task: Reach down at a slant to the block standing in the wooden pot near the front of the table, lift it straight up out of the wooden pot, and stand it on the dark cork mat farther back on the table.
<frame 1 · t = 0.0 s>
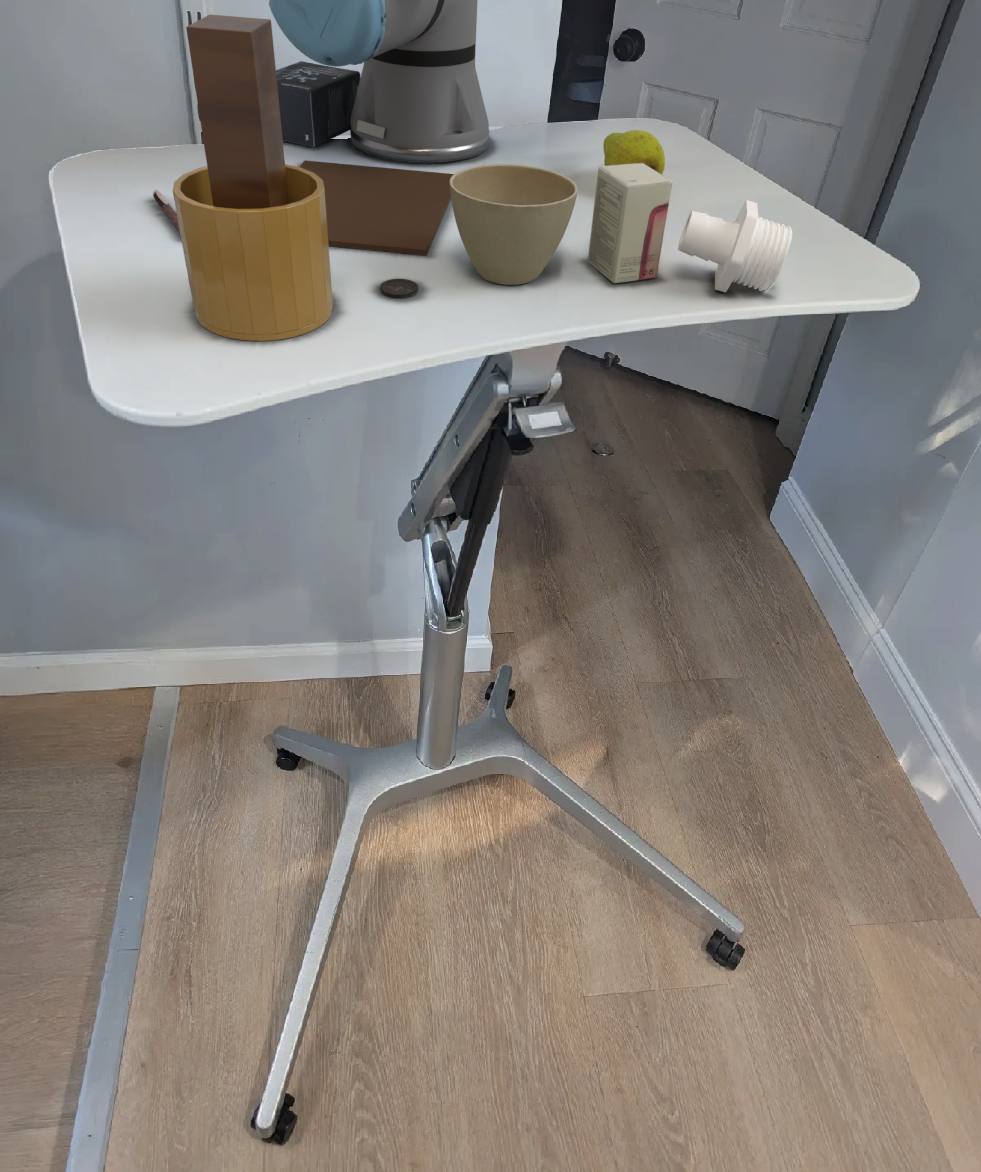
box: (332, 92, 103), point 3 cm above the table
bowl: (507, 275, 75), on the table
pipe fitting: (682, 229, 73), point 4 cm above the table
block: (264, 303, 67), resting on wooden pot
wooden pot: (265, 310, 67), on the table
pen: (172, 220, 79), on the table
mat: (360, 206, 84), on the table
coin: (399, 291, 71), on the table
small box: (620, 272, 76), on the table
fruit: (651, 172, 87), point 3 cm above the table
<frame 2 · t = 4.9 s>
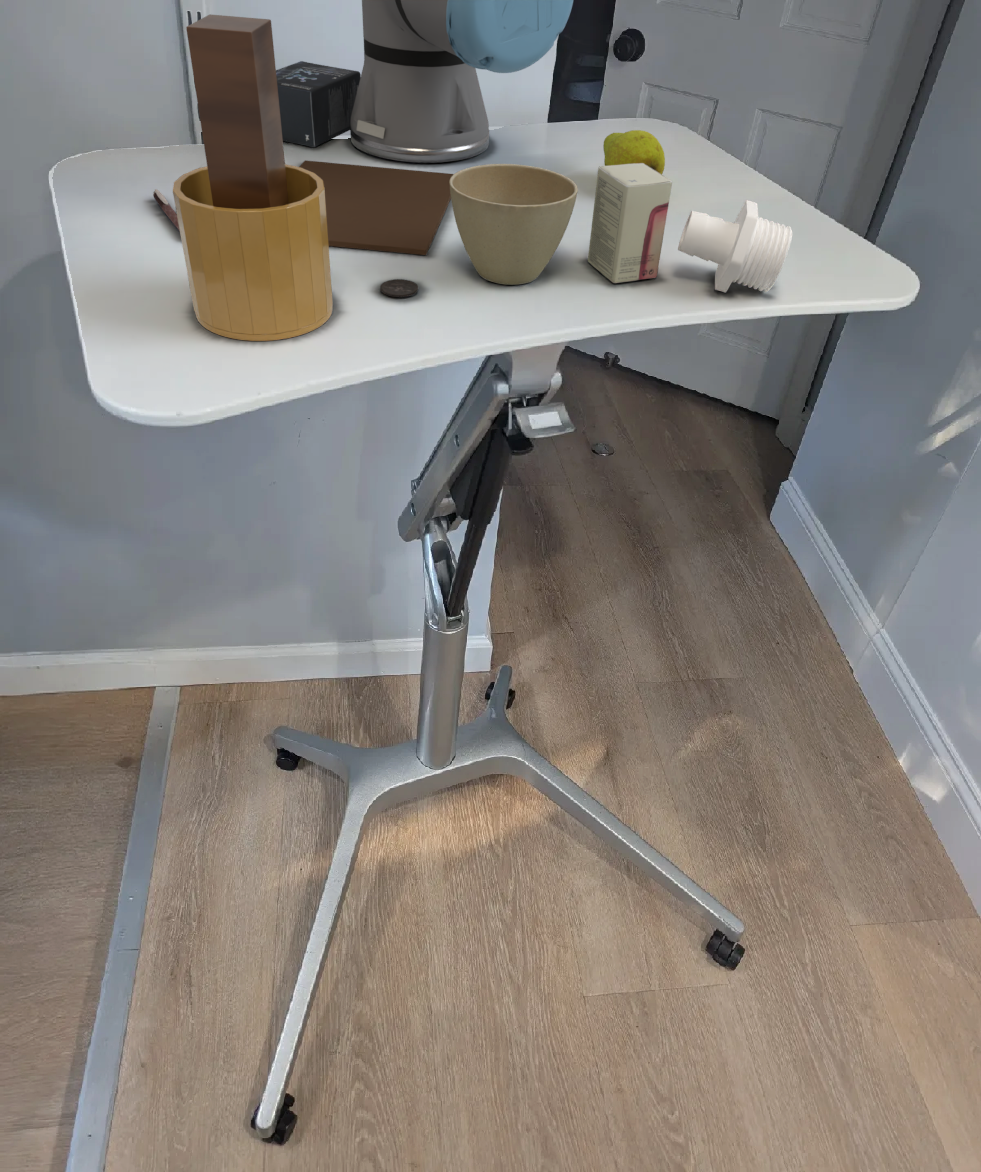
nothing on the table moved.
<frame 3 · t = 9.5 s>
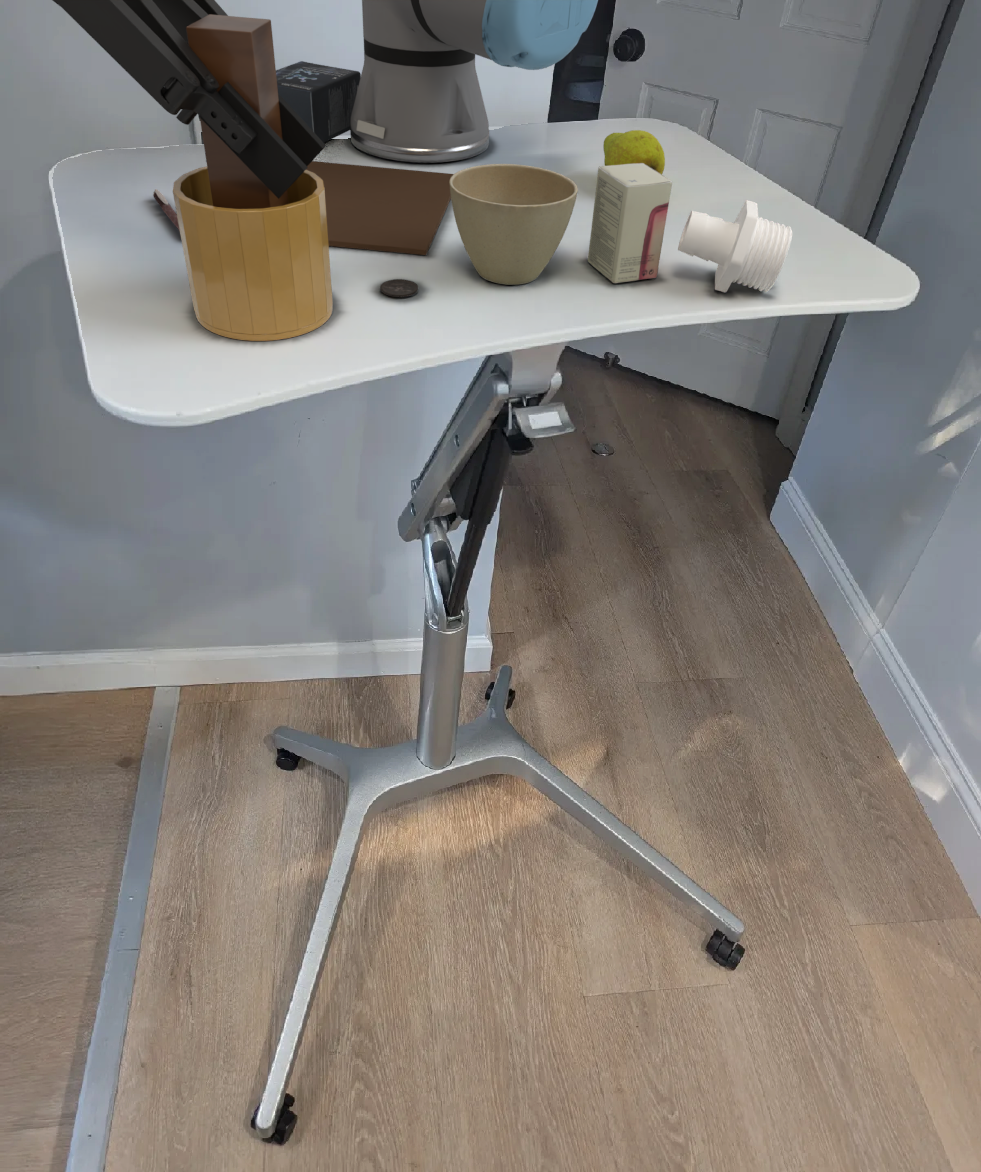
hand: (302, 171, 60), 10 cm above the table, tool tilted 45°, fingers closed on block, 4 cm apart
block: (264, 303, 67), point 1 cm above the table, touching gripper, wooden pot
everything else where it was.
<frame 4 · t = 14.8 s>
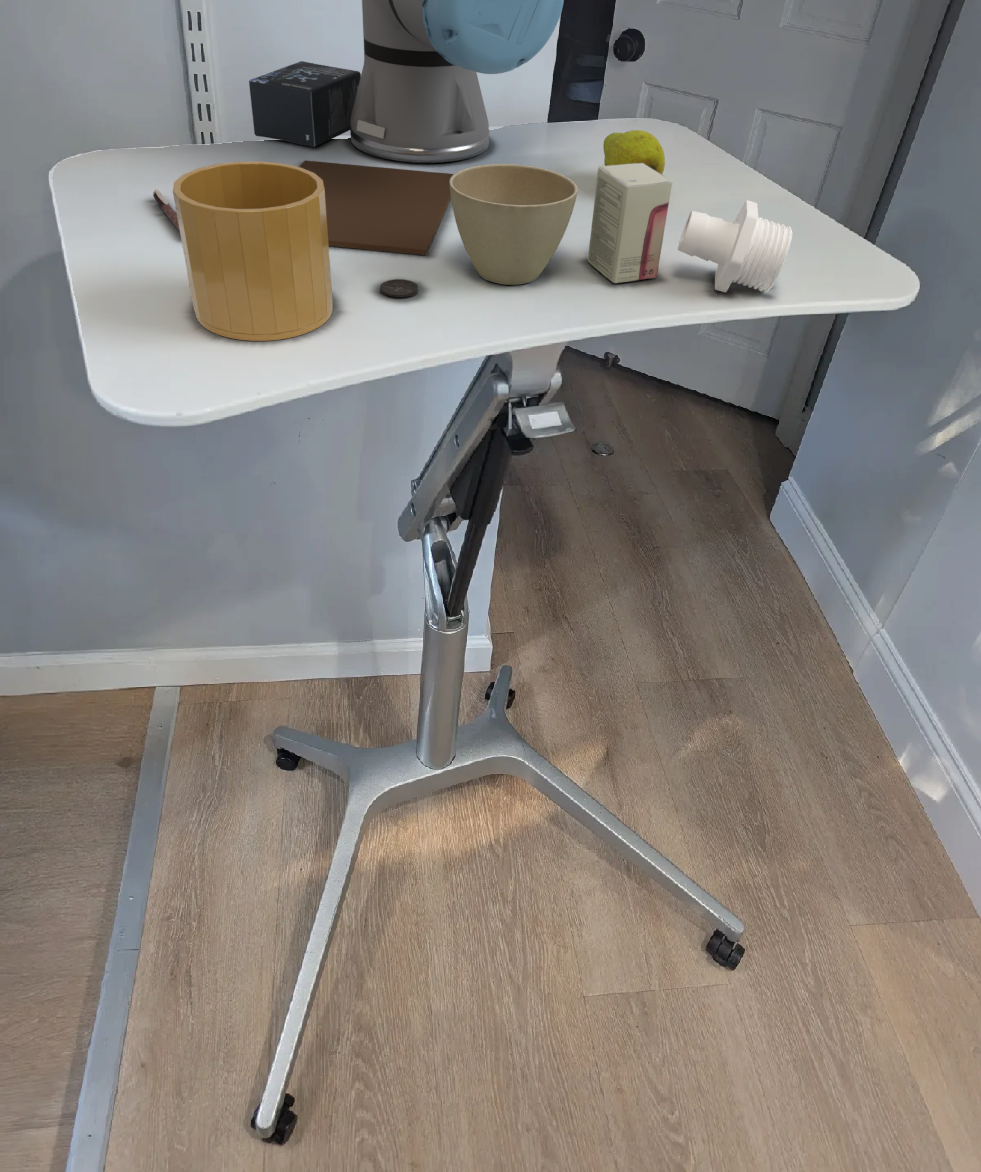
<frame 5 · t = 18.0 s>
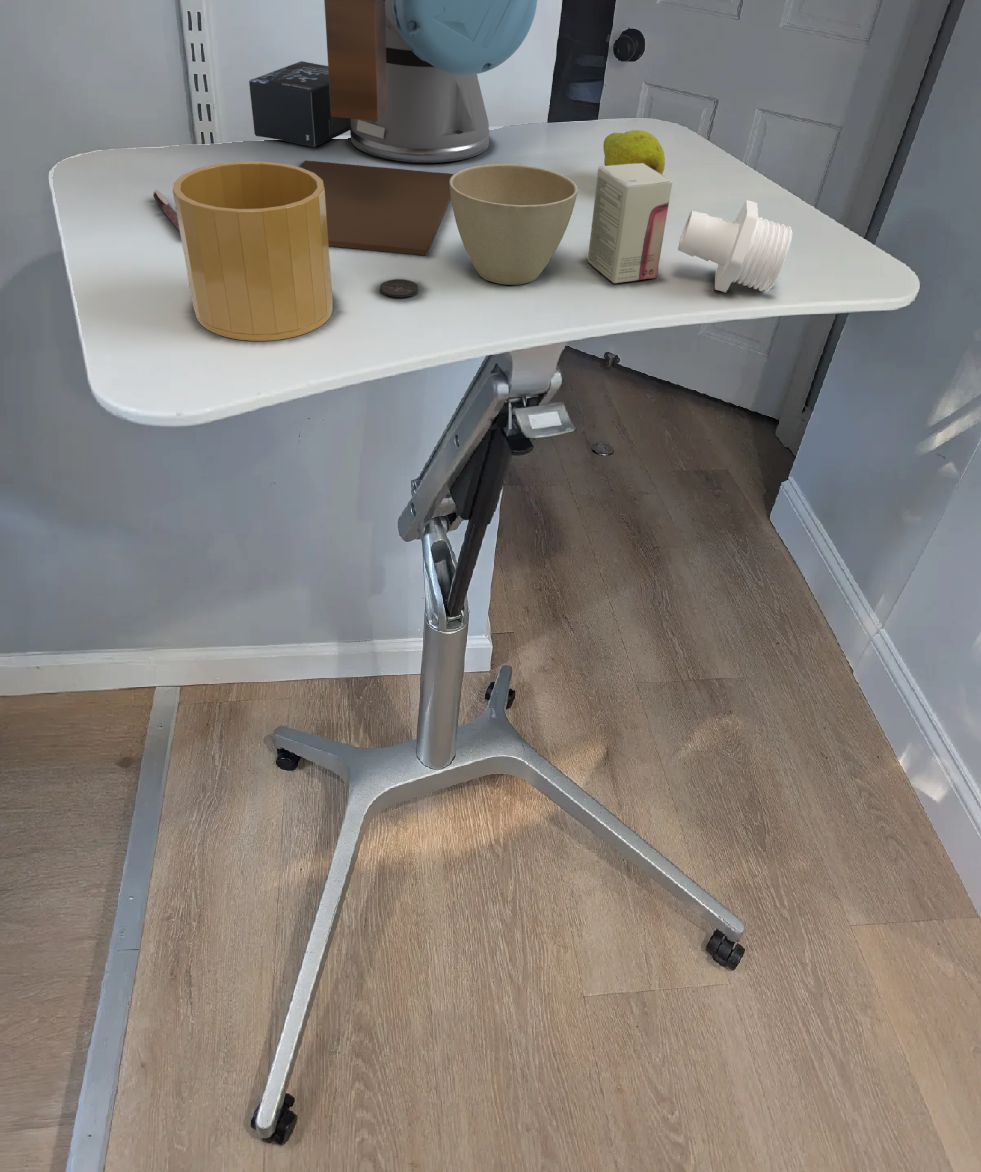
block: (359, 113, 77), point 9 cm above the table, touching gripper
everything else where it was.
when the fingers open (10 cm above the table, at t = 20.4 s): block stays where it is, resting on mat.
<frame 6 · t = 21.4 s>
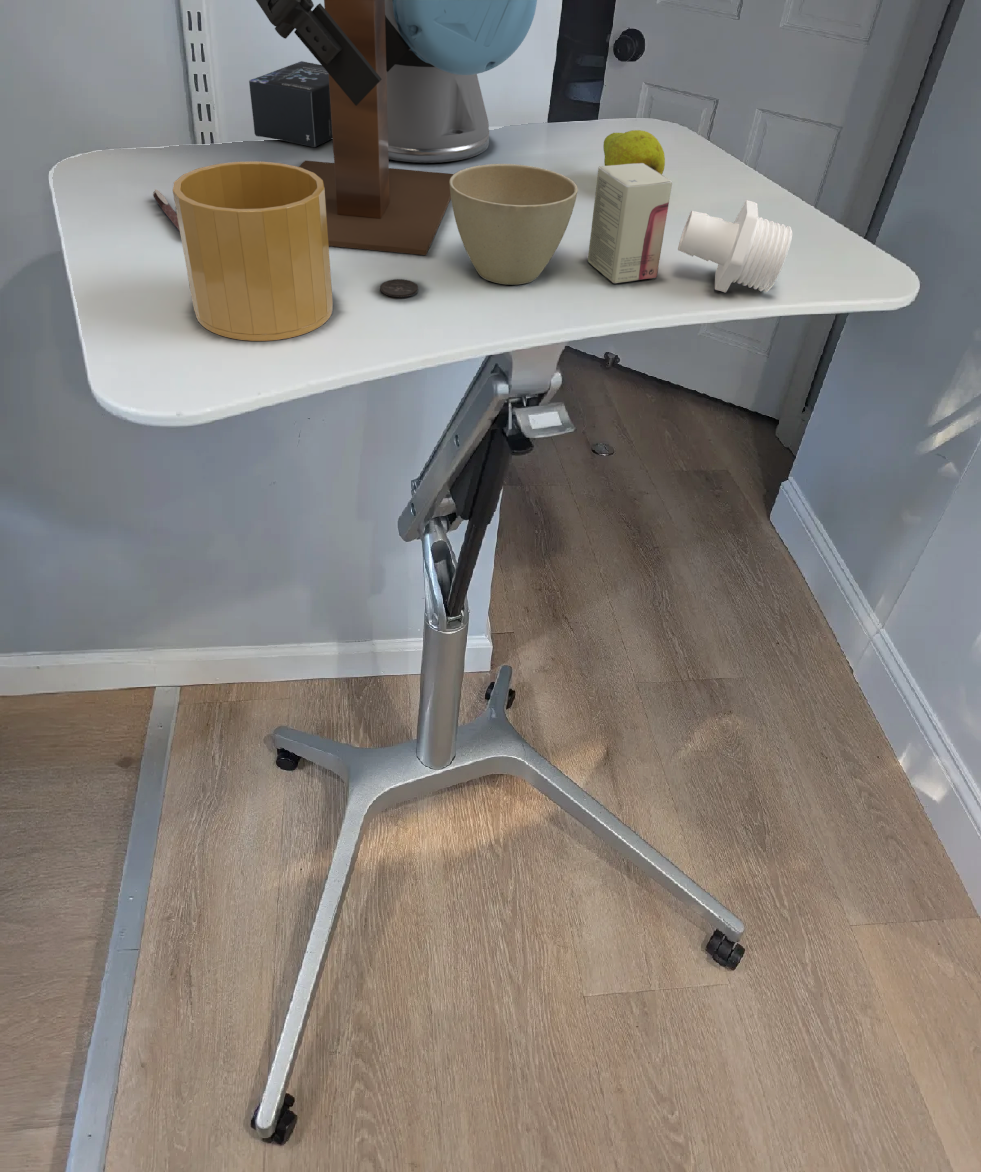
hand: (385, 75, 74), 12 cm above the table, tool tilted 45°, fingers open, 12 cm apart
block: (363, 209, 82), resting on mat
everything else where it was.
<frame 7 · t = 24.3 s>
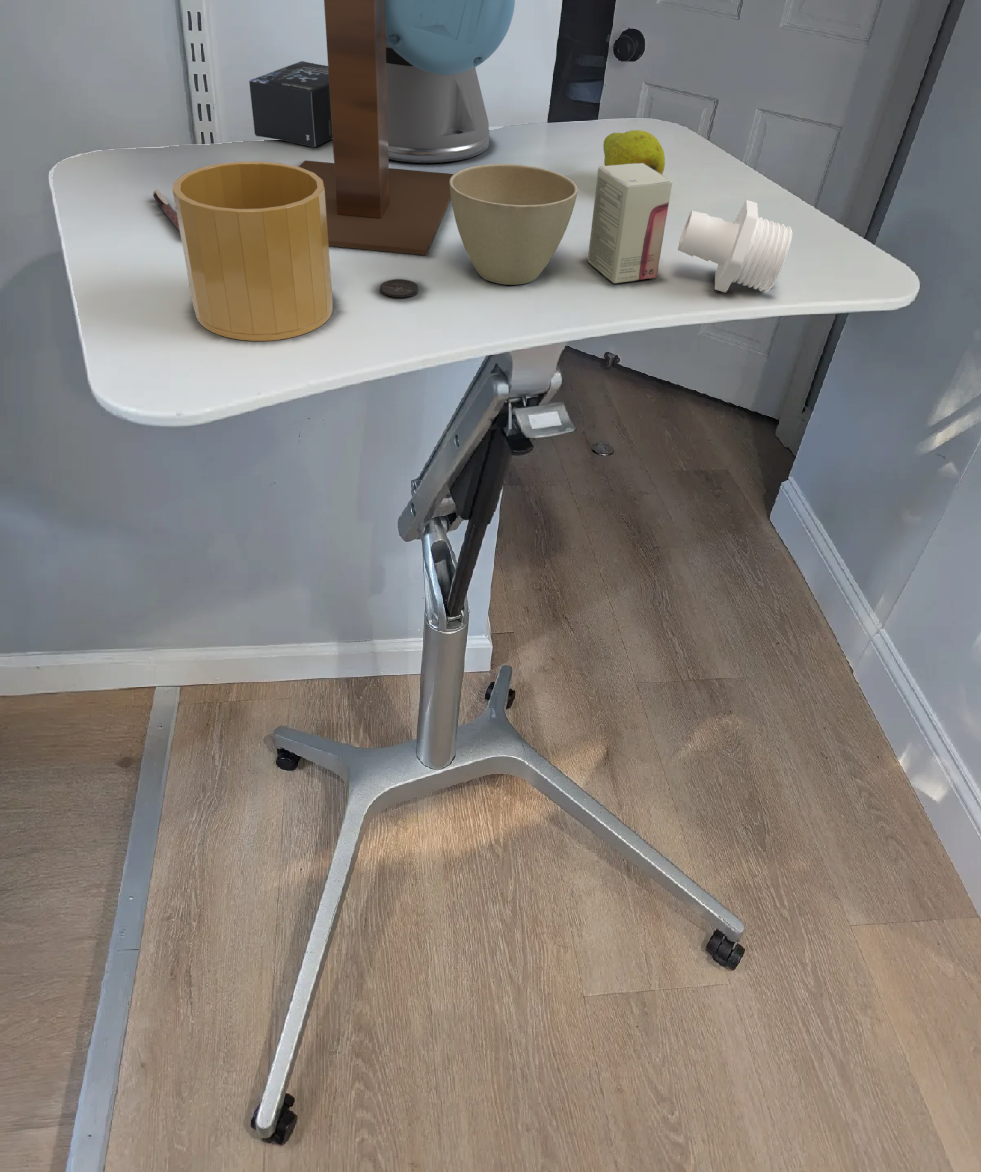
nothing on the table moved.
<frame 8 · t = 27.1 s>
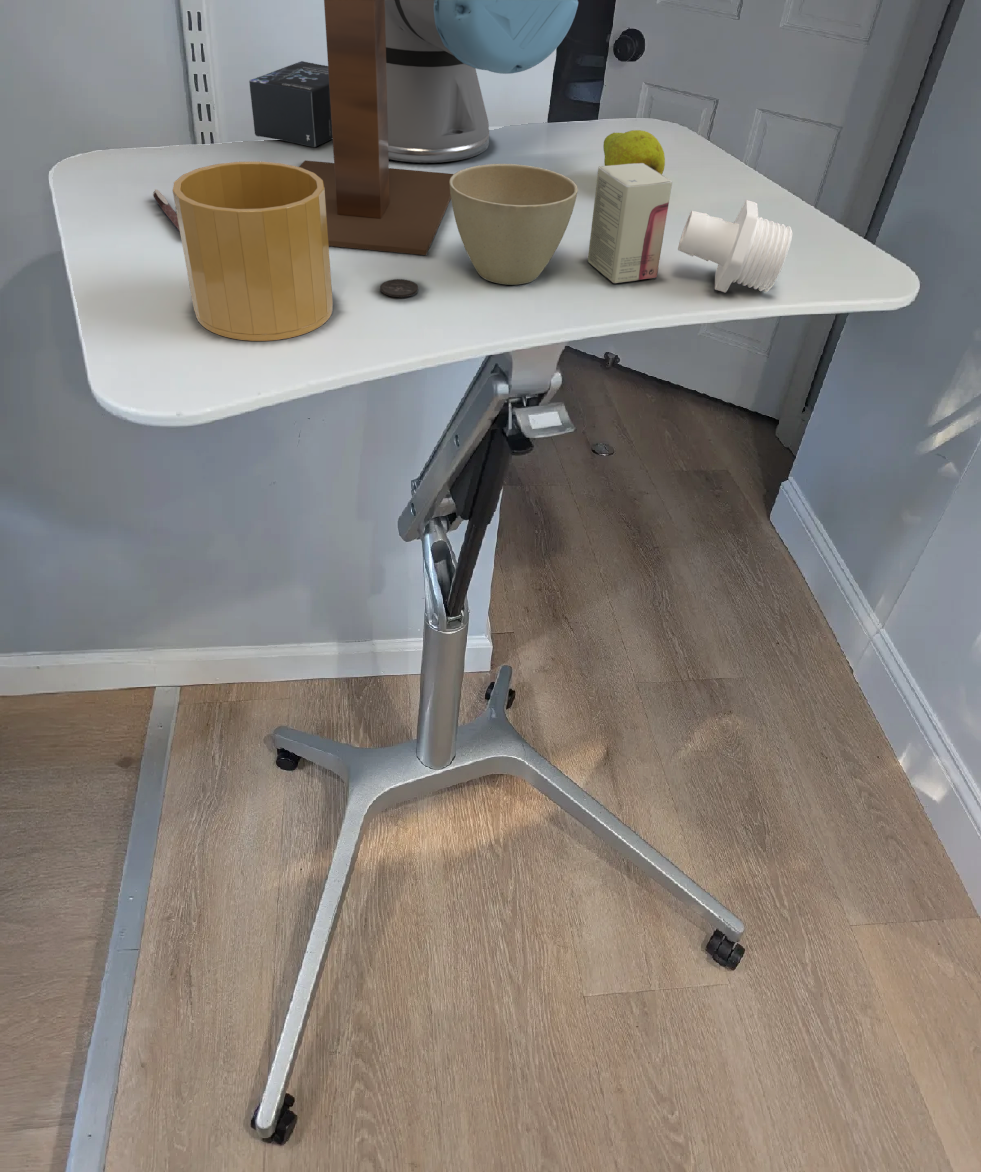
nothing on the table moved.
at the end: block inside the target area on the mat (2.2 cm from its centre), point 0.5 cm above the mat's base; block touching mat; the gripper is holding nothing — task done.
